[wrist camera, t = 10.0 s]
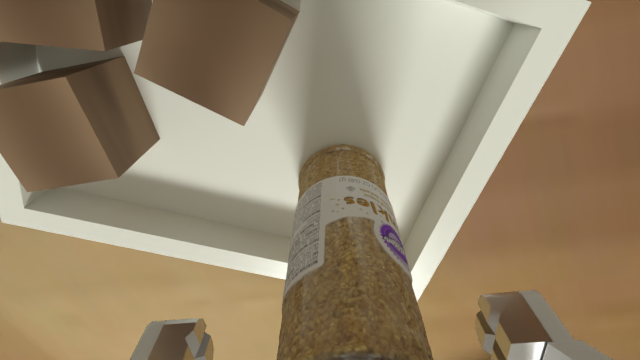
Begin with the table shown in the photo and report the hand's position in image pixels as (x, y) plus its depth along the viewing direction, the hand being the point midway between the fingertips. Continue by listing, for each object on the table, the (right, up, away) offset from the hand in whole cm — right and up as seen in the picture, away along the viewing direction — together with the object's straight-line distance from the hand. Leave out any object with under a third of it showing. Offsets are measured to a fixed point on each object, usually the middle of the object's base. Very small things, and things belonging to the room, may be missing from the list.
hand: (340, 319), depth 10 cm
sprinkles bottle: (+1, +4, +8) cm, 9 cm away
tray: (-4, +8, +7) cm, 11 cm away
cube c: (-11, +8, +6) cm, 15 cm away
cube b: (-4, +10, +5) cm, 12 cm away
